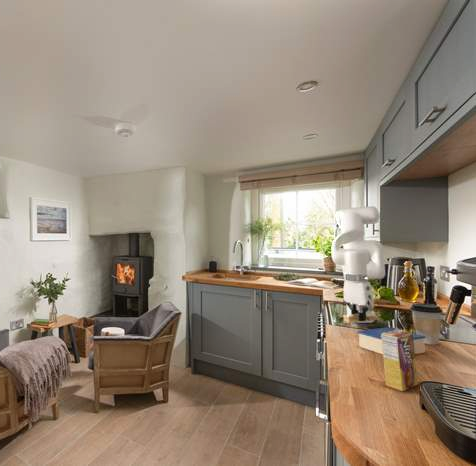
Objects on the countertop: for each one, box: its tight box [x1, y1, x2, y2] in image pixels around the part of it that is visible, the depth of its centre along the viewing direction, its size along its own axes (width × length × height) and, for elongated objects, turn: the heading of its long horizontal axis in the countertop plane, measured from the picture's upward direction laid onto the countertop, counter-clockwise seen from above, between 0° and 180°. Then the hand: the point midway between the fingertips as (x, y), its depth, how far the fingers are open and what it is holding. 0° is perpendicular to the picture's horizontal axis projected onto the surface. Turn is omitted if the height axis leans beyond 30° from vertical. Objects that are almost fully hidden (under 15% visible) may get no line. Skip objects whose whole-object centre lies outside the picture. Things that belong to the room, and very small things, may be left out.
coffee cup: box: [409, 303, 444, 346], centre depth 119 cm, size 9×9×15 cm
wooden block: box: [343, 313, 379, 324], centre depth 127 cm, size 15×4×3 cm, turn 104°
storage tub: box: [357, 326, 426, 355], centre depth 112 cm, size 17×13×6 cm
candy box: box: [381, 328, 419, 392], centre depth 85 cm, size 9×4×15 cm, turn 114°
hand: (358, 319), depth 127 cm, fingers closed on wooden block, 2 cm apart
